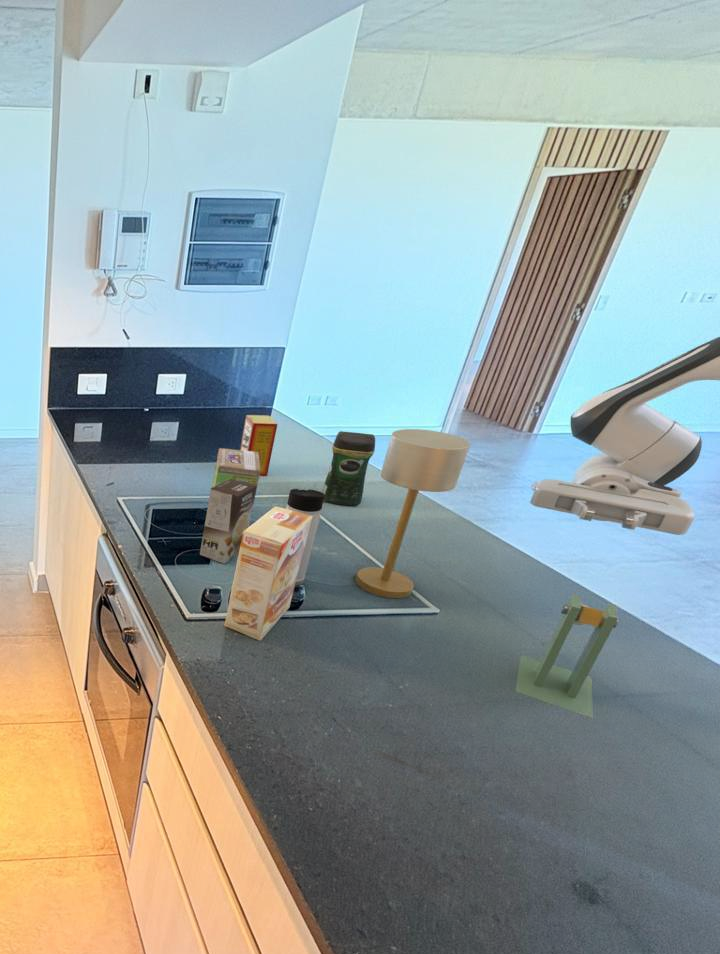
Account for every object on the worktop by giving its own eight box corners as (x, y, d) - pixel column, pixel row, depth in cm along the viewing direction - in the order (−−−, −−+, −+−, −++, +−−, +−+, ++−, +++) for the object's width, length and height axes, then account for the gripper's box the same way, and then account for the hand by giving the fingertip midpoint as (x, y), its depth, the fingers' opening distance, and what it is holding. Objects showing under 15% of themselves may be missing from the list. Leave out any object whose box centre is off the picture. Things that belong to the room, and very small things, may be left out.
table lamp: (389, 569, 131) (434, 427, 117) (431, 598, 121) (487, 447, 107) (337, 573, 130) (377, 430, 116) (376, 603, 119) (425, 450, 105)
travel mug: (274, 586, 125) (295, 495, 116) (267, 570, 131) (287, 483, 122) (307, 589, 124) (330, 497, 115) (298, 572, 130) (320, 484, 121)
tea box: (250, 526, 150) (261, 469, 144) (207, 521, 153) (216, 465, 146) (249, 503, 163) (259, 450, 156) (209, 499, 166) (218, 446, 159)
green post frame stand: (517, 660, 103) (555, 579, 96) (588, 683, 98) (633, 599, 91) (512, 698, 95) (553, 612, 88) (589, 724, 90) (639, 636, 83)
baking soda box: (237, 464, 190) (246, 413, 183) (259, 465, 190) (269, 414, 182) (244, 475, 182) (253, 422, 175) (266, 476, 181) (277, 423, 174)
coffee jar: (359, 498, 166) (378, 431, 158) (360, 508, 160) (380, 439, 151) (320, 492, 170) (336, 426, 161) (319, 502, 163) (336, 435, 155)
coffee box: (225, 565, 133) (238, 496, 126) (198, 555, 137) (209, 488, 130) (245, 551, 139) (258, 484, 132) (218, 542, 143) (230, 477, 136)
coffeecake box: (260, 642, 108) (283, 543, 99) (222, 626, 112) (240, 530, 104) (291, 607, 118) (314, 515, 109) (255, 594, 122) (274, 504, 113)
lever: (556, 619, 101) (565, 599, 100) (585, 627, 99) (594, 606, 98) (570, 623, 90) (579, 600, 90) (602, 632, 88) (612, 609, 88)
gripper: (539, 466, 115) (535, 487, 106) (693, 492, 103) (705, 519, 94) (526, 497, 118) (521, 520, 108) (675, 526, 106) (684, 555, 97)
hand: (608, 520), depth 101 cm, fingers open, 4 cm apart
